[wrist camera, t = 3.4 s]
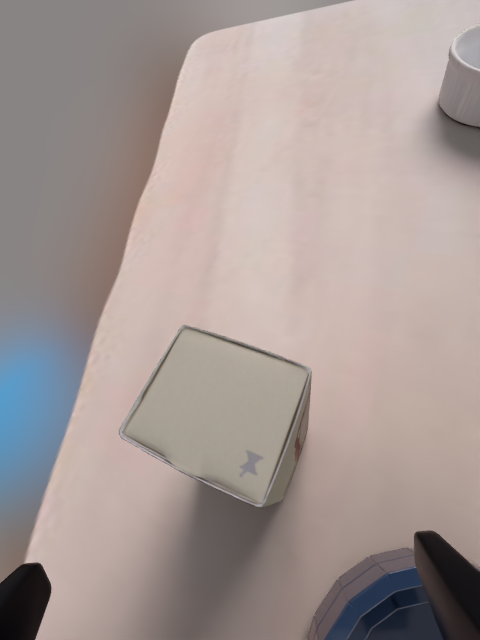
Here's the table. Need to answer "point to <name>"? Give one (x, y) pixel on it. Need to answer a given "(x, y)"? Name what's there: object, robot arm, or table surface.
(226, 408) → the pushpin icon carton
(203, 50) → the table surface
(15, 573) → the robot arm
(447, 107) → the ramekin
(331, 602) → the dish
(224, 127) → the table surface
